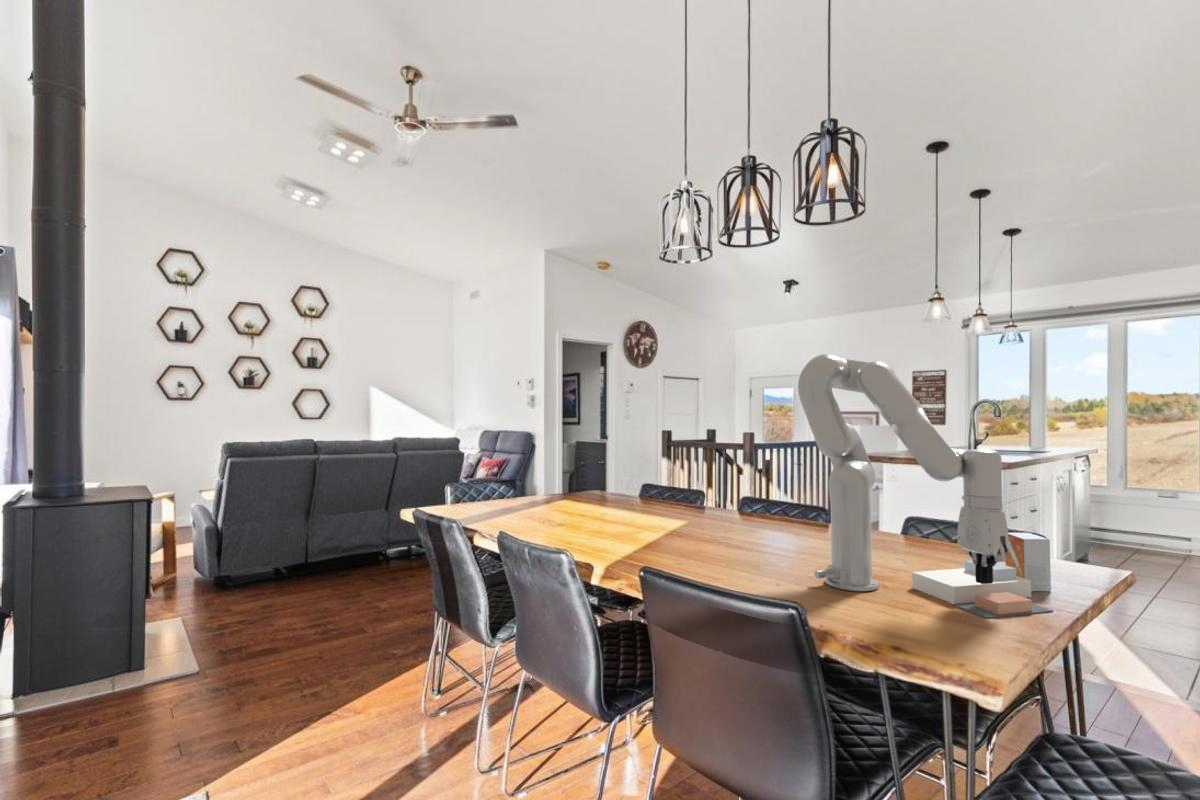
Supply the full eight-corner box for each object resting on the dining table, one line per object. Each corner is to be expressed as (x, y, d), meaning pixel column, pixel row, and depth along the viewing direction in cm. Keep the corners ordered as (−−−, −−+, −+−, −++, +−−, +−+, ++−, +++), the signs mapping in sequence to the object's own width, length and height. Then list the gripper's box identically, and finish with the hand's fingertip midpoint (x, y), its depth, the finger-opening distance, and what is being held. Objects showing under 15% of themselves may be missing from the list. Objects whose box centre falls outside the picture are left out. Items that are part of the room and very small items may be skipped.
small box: (1005, 582, 153) (1004, 532, 154) (1030, 582, 153) (1029, 532, 153) (1024, 591, 145) (1023, 538, 146) (1051, 592, 145) (1050, 539, 145)
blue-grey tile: (1016, 578, 142) (1016, 568, 142) (995, 580, 141) (995, 569, 141) (984, 569, 151) (984, 559, 151) (964, 570, 150) (964, 560, 150)
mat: (985, 618, 126) (985, 617, 126) (952, 605, 135) (952, 603, 135) (1053, 611, 130) (1053, 610, 130) (1016, 599, 139) (1016, 598, 139)
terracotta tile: (974, 594, 134) (975, 605, 134) (998, 603, 128) (998, 614, 128) (1007, 592, 136) (1007, 602, 136) (1031, 600, 130) (1032, 611, 130)
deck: (954, 604, 136) (953, 586, 136) (912, 588, 148) (911, 572, 149) (1031, 597, 141) (1030, 580, 141) (984, 582, 153) (984, 566, 154)
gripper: (943, 499, 143) (944, 575, 142) (997, 508, 128) (999, 593, 128) (969, 498, 145) (970, 573, 144) (1025, 507, 130) (1027, 591, 130)
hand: (984, 582), depth 136 cm, fingers closed
